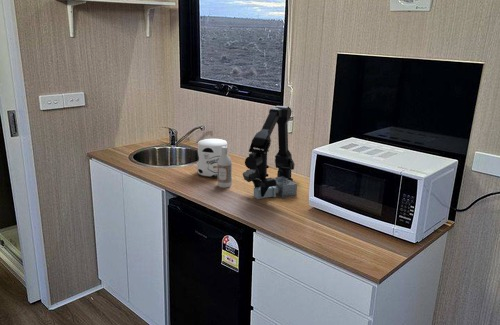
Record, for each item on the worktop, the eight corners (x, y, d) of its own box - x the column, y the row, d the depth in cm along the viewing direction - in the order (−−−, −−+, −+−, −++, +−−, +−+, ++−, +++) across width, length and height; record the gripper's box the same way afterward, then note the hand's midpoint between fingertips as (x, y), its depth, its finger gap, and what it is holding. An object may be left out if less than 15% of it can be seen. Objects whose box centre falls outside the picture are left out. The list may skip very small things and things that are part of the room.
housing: (282, 187, 216) (282, 176, 215) (296, 195, 206) (297, 183, 205) (268, 190, 213) (269, 178, 211) (282, 198, 203) (282, 186, 201)
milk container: (217, 182, 223) (217, 148, 217) (190, 176, 231) (189, 143, 226) (235, 172, 237) (235, 140, 232) (208, 167, 245) (208, 136, 240)
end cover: (281, 190, 213) (281, 181, 211) (288, 194, 208) (289, 185, 206) (252, 195, 205) (252, 186, 204) (259, 200, 200) (259, 190, 198)
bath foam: (215, 187, 216) (215, 148, 210) (220, 182, 222) (220, 144, 216) (228, 188, 214) (228, 149, 208) (233, 184, 220) (233, 145, 214)
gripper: (235, 160, 202) (235, 191, 207) (255, 171, 187) (255, 205, 192) (256, 157, 208) (255, 187, 212) (277, 167, 192) (276, 200, 197)
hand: (260, 195), depth 203 cm, fingers closed on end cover, 4 cm apart
